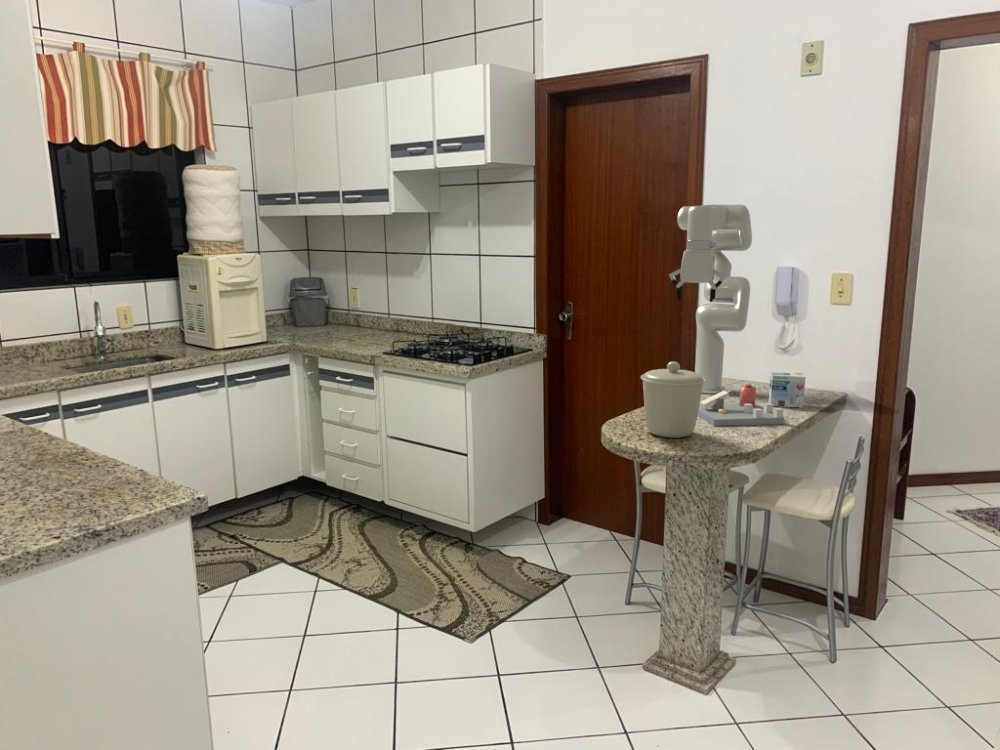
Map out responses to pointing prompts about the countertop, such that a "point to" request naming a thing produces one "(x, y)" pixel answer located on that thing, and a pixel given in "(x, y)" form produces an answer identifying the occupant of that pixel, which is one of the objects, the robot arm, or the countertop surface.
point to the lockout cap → (747, 395)
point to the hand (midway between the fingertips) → (695, 301)
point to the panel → (740, 414)
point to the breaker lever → (713, 399)
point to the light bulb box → (787, 389)
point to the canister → (672, 400)
